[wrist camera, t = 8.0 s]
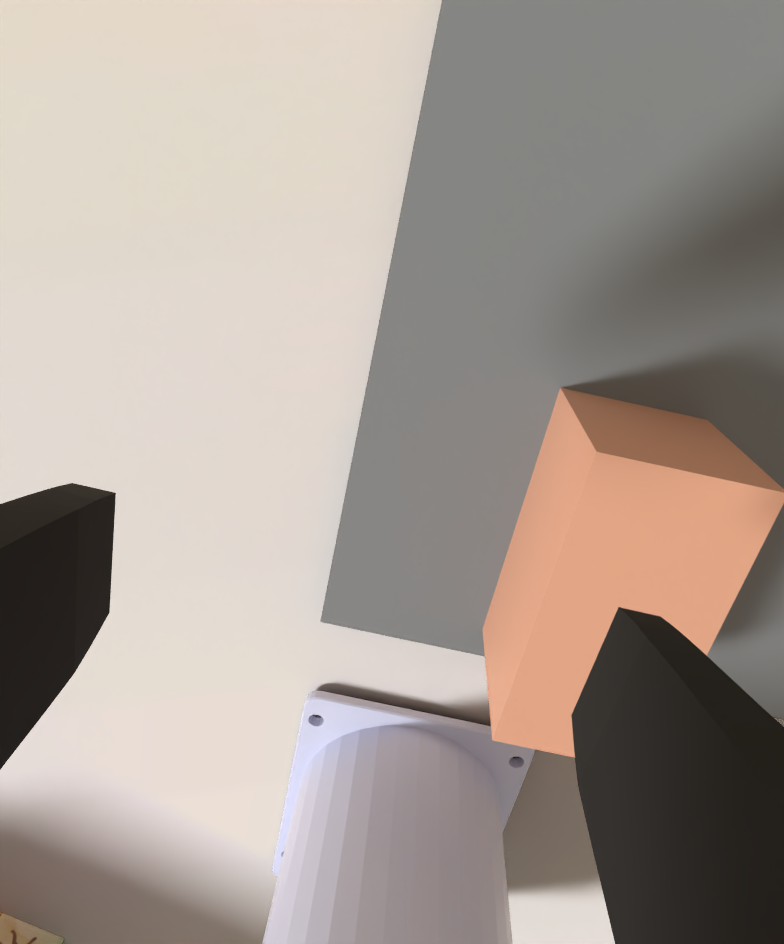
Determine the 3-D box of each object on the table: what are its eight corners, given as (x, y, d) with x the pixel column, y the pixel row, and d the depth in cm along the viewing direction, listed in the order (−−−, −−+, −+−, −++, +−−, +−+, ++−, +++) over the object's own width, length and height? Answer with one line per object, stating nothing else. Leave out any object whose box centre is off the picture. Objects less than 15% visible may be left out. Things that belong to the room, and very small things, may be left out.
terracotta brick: (606, 655, 21) (647, 772, 17) (482, 629, 21) (492, 740, 17) (707, 420, 18) (788, 493, 13) (560, 387, 17) (596, 451, 13)
